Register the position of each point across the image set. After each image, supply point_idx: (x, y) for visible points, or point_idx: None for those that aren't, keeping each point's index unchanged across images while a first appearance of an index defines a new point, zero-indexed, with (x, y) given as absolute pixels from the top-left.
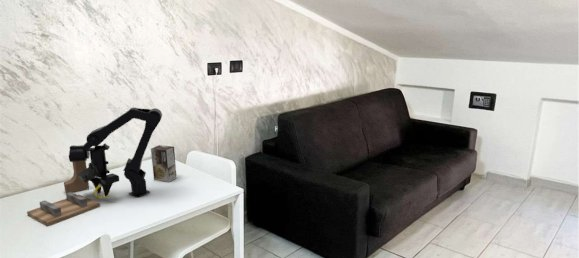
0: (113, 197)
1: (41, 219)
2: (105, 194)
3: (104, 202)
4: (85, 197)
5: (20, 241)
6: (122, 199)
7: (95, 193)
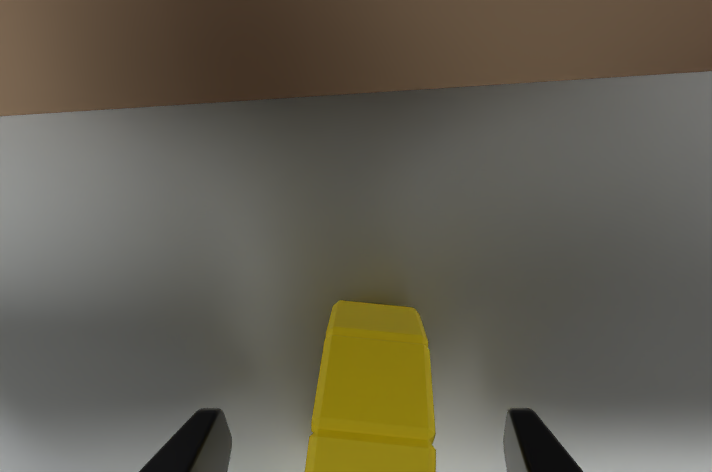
0: None
1: None
2: (165, 448)
3: (47, 266)
4: (536, 63)
5: None
6: (14, 460)
7: (341, 367)
